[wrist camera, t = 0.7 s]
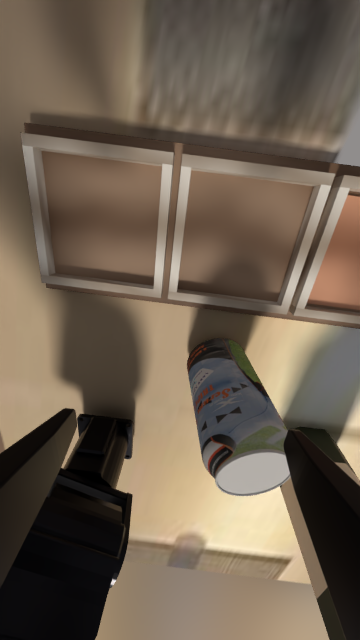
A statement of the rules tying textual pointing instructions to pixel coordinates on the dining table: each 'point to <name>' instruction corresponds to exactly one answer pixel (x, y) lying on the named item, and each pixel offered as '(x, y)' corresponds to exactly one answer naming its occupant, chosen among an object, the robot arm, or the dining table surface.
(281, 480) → the beverage can
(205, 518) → the dining table surface
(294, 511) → the wine bottle
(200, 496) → the dining table surface
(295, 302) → the board
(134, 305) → the dining table surface
